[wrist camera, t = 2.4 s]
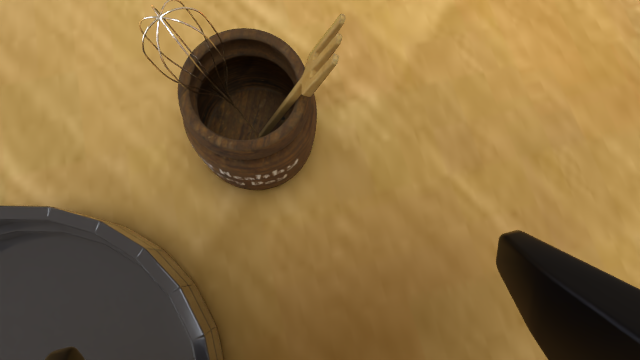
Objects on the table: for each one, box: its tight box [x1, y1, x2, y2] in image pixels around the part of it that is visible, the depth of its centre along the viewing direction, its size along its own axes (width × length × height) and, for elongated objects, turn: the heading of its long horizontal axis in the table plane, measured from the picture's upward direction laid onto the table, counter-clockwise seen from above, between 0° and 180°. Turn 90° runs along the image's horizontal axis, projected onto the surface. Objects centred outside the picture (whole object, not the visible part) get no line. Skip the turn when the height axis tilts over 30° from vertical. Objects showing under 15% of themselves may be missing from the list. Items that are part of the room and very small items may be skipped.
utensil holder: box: [139, 0, 345, 190], centre depth 18 cm, size 6×6×12 cm
